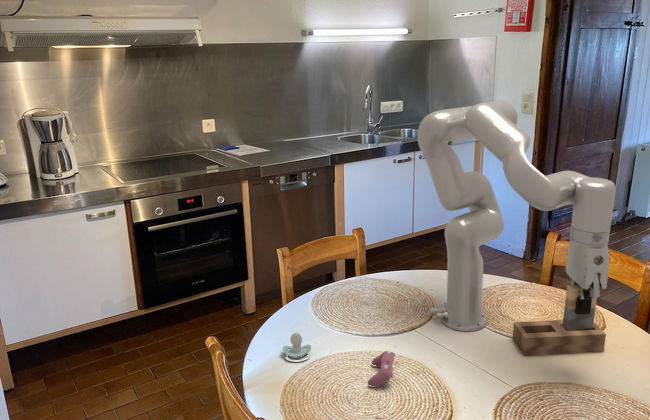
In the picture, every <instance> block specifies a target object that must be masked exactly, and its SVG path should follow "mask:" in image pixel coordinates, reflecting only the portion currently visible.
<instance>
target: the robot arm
mask: <svg viewBox="0 0 650 420" xmlns="http://www.w3.org/2000/svg"><path fill="white" fill-rule="evenodd" d="M517 123H518V112H517V110H516V107H514V106H513V104H511V103H510V102H508V101H505V100H501V99H500V100H491V101H484V102H480V103H476V104H474V105H470V106H462V107H454V108H447V109H440V110H437V111H433V112H431V113H429V114H427V115H426V116H425V117H423V119H422V120H421V122H420V124H419V126H418V129H417V143H418V147H419V149H420V152H421V155H422V156H423V158H424V160H425V162H426V164H427V167H428V171H429V173H430V176H431V180H432V184H433V185H434V188H435V192H436V195H437V198H438V200H439V203H440V204H441V206H442V208H443V209H444V210H446V211H448V212H449V211H450V212H455V211H459V210H464V209H466V208H468V209H469V210H468V212H466V213H465V212H464V213H462V214H458V215H457V216H454V217H453V218H451V219H450V220H449V221H448V223H447V224H446V225H445V228H444V238H445V245H446V250H447V251H446V253H447V277H446V278H447V279H446V280H447V283H446V284H447V286H446V289H447V290H446V302H444V303H443V306H442V305H441V306H440V307H429V314H430V315H435V317H436V318H440V319H441V320H440V321H441V323H442V324H443V325H444V326H446V327H448V328H449V329H452V330H455V331H460V332H474V331H479V330H481V329H483V328H484V327H486V326H487V322H488V320H487V316H486V315H485V314H484V313H483V312H482V305H483V302H482V301H483V281H484V279H483V278H484V260H483V257H482V254H481V252H480V246H483V245H485V244H487V243H488V244H489V243H491V242H493V241H495V240H497V239H498V238H500V237H501V236H502V234H503V231H504V227H505V226H504V218H503V215H502V211H501V209H500V206H499V203H498V200H497V198H496V194H495V192H494V189H493V186H492V183H491V182H490V180H489V178H488V177H487V176H486V175H485V174H483V173H482V172H480V171H477V170H476V171H475V170H471V171H466V172H465V171H464V168H463V167H462V163H461V160H460V158H459V156H458V154H457V152H455V150H454V149H453V148H452V147H451V146H450V145H449V144H448V143H449V142H453V141H457V140H458V141H459V140H464V139H468V138H475V140H477V141H478V142H479V143H480V144H481V145H482V146H483V147H484V148H485V149H486V150H488V151H489V152H490V153H491V154H492V155H493V156H494V157H495V158H496V159H498V160H499V161H500V162H501V163H502V164H501V165H502V169H503V172H504V176H505V178H506V179H507V182H508V184H509V186H510V187H511V188H512V189H513V191H514V192H515V193H516V194H518V196H519V197H521V198H522V199H523V200H524V201H525V202H527V203H528V205H530V206H532V207H533V208H535V209H537V210H539V211H544V212H548V211H553V210H556V209H559V208H562V207H564V206H565V207H566V206H570V205H573V209H572V217H571V225H570V234H569V245H568V248H567V249H568V250H567V254H566V262H565V272H566V275H567V276H568V277H569V279H570V282H571V283H570V285H580V291H579V297H577V300H576V308H575V313H576V314H590V310H591V303H592V299H593V298H594V297H597V298H600V297H601V295H600V289H601V290H606V289H607V284H608V277H609V263H610V262H609V260H610V259H609V258H610V254H609V246H608V245H609V240H610V233H611V225H612V217H613V212H614V205H615V198H616V189H617V187H616V184H615V182H613V181H612V180H609V179H607V178H601V177H590V176H588V175H586V174H583V173H580V172H577V171H573V170H562V171H558V172H555V173H550V174H548V175H545V174H543V173H542V172H541V171H540V170H539V169H537V168H536V167H535V166H534V165H533V164H532V163H531V162H530V161H529V159H528V158H527V154H526V152H527V151H528V149H529V147H530V144H531V138H530V136H529V135H528V134H527V133H526V132H525V131H524V130H522V129H521V128H520V126H517ZM585 290H589V291H586V292H585Z"/></svg>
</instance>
